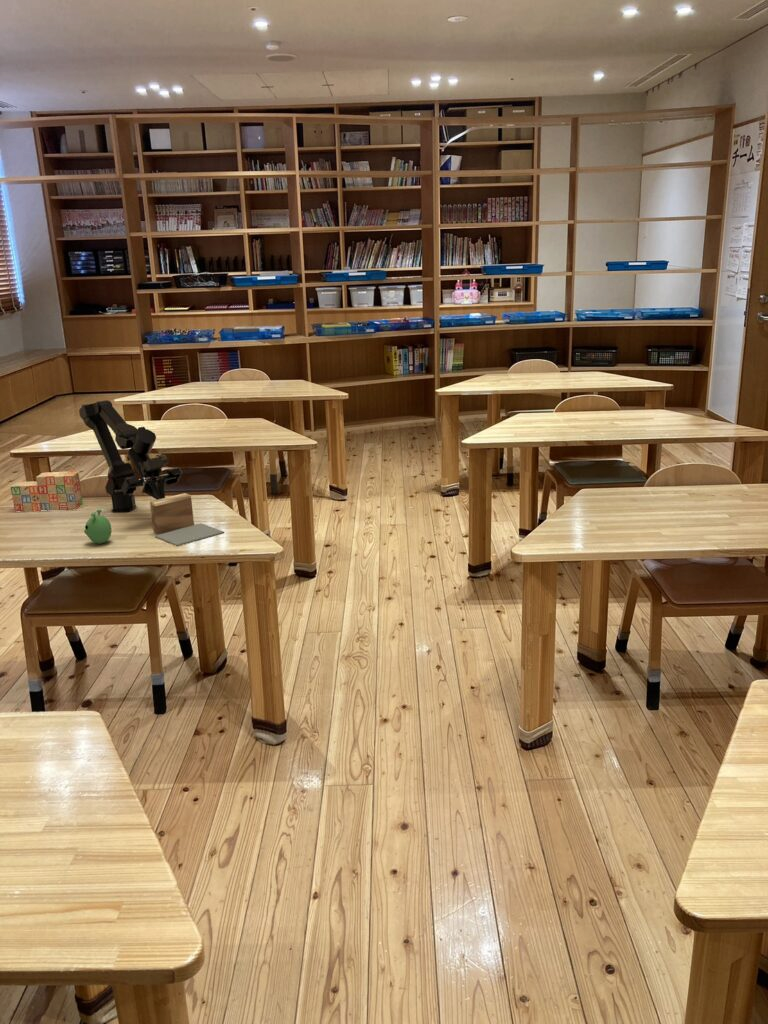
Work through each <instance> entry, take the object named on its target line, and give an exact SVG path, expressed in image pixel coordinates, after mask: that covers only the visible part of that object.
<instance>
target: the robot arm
mask: <svg viewBox="0 0 768 1024" xmlns="http://www.w3.org/2000/svg"><path fill="white" fill-rule="evenodd" d="M78 413H79V417H80V418H81V419H82V421H83V423H84V425H85V426H87V428H89V429H90V430H92V431H93V433H94V435H95V439H96V440H97V442H98V445H99V448H100V450H101V452H102V454H103V457H104V459H105V462H106V464H107V465H108V473H107V479H108V480H107V482H106V485H105V491H106V494H108V495H110V498H111V505H112V509H111V510H110V511H111V513H124V512H126V513H129V511H130V512H131V511H133V510H134V509H135V508H137V505H136V497H135V494H134V492H136V491H137V488H139V487H141V489H142V490H141V493H142V494H146V495H148V496H149V497H152V498H153V499H154V500H159V499H163V498H166V492H165V485H167V486H173V485H176V484H178V483H179V481H180V480H181V477H182V476H183V471H182V469H181V468H180V467H172V468H168V469H166V473H164V474H160V473H162V471H163V470H162V469H163V468H165V467H166V466H167V465H168V464H169V461H170V460H169V458H168V457H167V455H166V453H164V454H160V455H158V457H153V458H151V457H150V453H151V451H152V449H153V447H154V444H155V442H156V440H157V435H156V434H155V432H153V431H152V430H150V429H148V428H147V429H146V427H145V426H140V427H139V426H138V427H136V426H135V425H133V424H130V423H128V422H126V421H125V419H124V418H123V417H122V415H120V413H119V412H118V411H117V409H116V408H114V406H113V403H112V402H111V401H110V400H107V399H106V400H100V401H96V402H93V403H86V404H82V405H81V407H80V408H79V411H78ZM110 429H111V430H112V431H113V433H114V435H115V439H114V437H113V435H112V433H111V430H110ZM117 446H118V447H119V448H120V449H121V450H127V449H129V450H128V451H127V456H126V460H127V461H128V462H125V461H123V458H122V457H121V454H120V451H119V450H118V447H117ZM129 461H131V463H130V462H129ZM132 466H133V467H134V469H133V467H132ZM134 470H135V471H134ZM139 478H140V479H139ZM132 509H133V510H132Z"/></svg>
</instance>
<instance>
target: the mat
mask: <svg viewBox="0 0 768 1024" xmlns="http://www.w3.org/2000/svg"><path fill="white" fill-rule="evenodd" d="M222 533H223V534H225V531H224V530H220V529H219V528H216V527H214V526H213V527H212V526H209V525H207V524H205V523H202V522H201V523H197V524H194V525H193V526H189V527H185V528H181V529H178V530H174V531H170V532H166V533H163V534H159V535H158V534H156V535H154V538H156V539H158V540H160V539H161V540H160V541H163V542H165V541H166V542H165V543H168V544H170V543H171V544H170V545H172V544H174V545H173V546H175V545H176V546H175V547H180V546H183V545H182V544H184V545H187V544H191V543H193V541H195V542H197V541H201V539H202V540H205V539H208V537H209V538H212V537H215V535H216V536H219V535H223V534H222ZM218 534H219V535H218ZM190 542H191V543H190ZM186 543H187V544H186ZM179 545H180V546H179Z"/></svg>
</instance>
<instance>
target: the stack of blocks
mask: <svg viewBox="0 0 768 1024" xmlns="http://www.w3.org/2000/svg"><path fill="white" fill-rule="evenodd" d="M79 473H80V472H79V471H69V470H68V471H54V472H53V471H52V472H51V471H50V472H42V473H40V474H39V475H37V476H36V477H35V478H36V481H17V482H16V483H14V484H12V485H11V486H10V491H11V496H12V503H13V508H14V512H15V511H34V510H35V511H39V512H42V511H41V510H66V511H74V510H73V509H78V508H79V507H80V506H81V505H84V502H83V496H82V488H81V480H80V475H79ZM81 507H82V506H81ZM81 507H80V508H81ZM80 508H79V509H80ZM79 509H78V510H79Z"/></svg>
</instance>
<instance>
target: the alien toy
mask: <svg viewBox="0 0 768 1024" xmlns="http://www.w3.org/2000/svg"><path fill="white" fill-rule="evenodd" d="M102 512H103V510H102V509H97V510H96V512H92V513H91V514H90V516H91V517H90V518H88V520H87V522H86V523H85V526H84V530H83V532H84V534H85V535H86V536H87V538H88V539H89V540H90V541H91V542H93V544H98V545H99V544H100V545H101V544H104V543H106V542H108V541H109V539H110V538H111V536H112V524H111V522H110V521H109V519H108V518H107V517H106V516H104V515H101V513H102ZM97 513H98V514H97Z"/></svg>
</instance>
